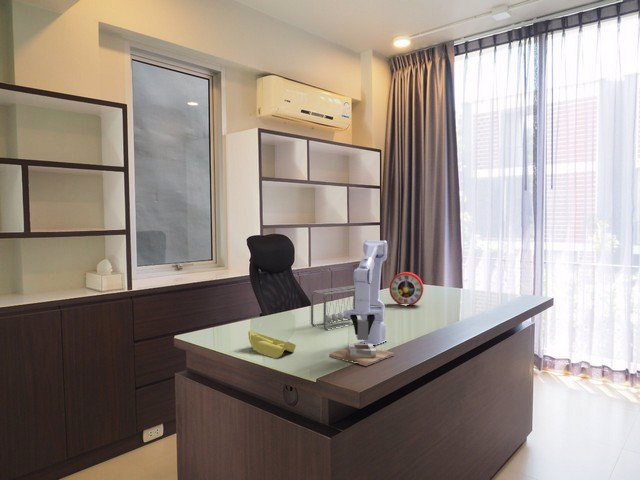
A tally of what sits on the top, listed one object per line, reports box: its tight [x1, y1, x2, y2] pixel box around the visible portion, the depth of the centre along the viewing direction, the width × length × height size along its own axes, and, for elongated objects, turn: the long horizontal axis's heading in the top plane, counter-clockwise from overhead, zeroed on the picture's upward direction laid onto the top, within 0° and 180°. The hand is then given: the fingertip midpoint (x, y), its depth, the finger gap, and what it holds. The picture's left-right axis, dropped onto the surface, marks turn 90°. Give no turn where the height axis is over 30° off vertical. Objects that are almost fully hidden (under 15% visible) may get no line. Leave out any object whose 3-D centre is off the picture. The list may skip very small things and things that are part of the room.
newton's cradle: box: [310, 285, 355, 331], centre depth 228 cm, size 30×10×18 cm, turn 130°
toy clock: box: [388, 271, 424, 306], centre depth 278 cm, size 20×6×20 cm, turn 73°
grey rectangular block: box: [355, 318, 368, 341], centre depth 176 cm, size 4×4×7 cm
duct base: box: [328, 343, 395, 364], centre depth 177 cm, size 18×18×4 cm
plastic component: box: [248, 329, 297, 359], centre depth 183 cm, size 20×7×10 cm
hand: (362, 334), depth 176 cm, fingers closed on grey rectangular block, 4 cm apart
